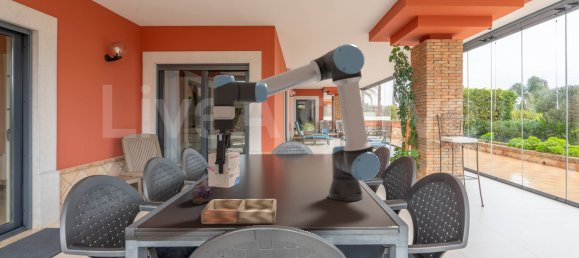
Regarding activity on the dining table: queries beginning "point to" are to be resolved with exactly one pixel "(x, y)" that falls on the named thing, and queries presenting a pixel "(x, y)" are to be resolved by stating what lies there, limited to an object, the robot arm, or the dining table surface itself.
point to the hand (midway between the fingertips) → (224, 179)
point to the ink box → (231, 169)
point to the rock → (202, 192)
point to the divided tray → (239, 211)
